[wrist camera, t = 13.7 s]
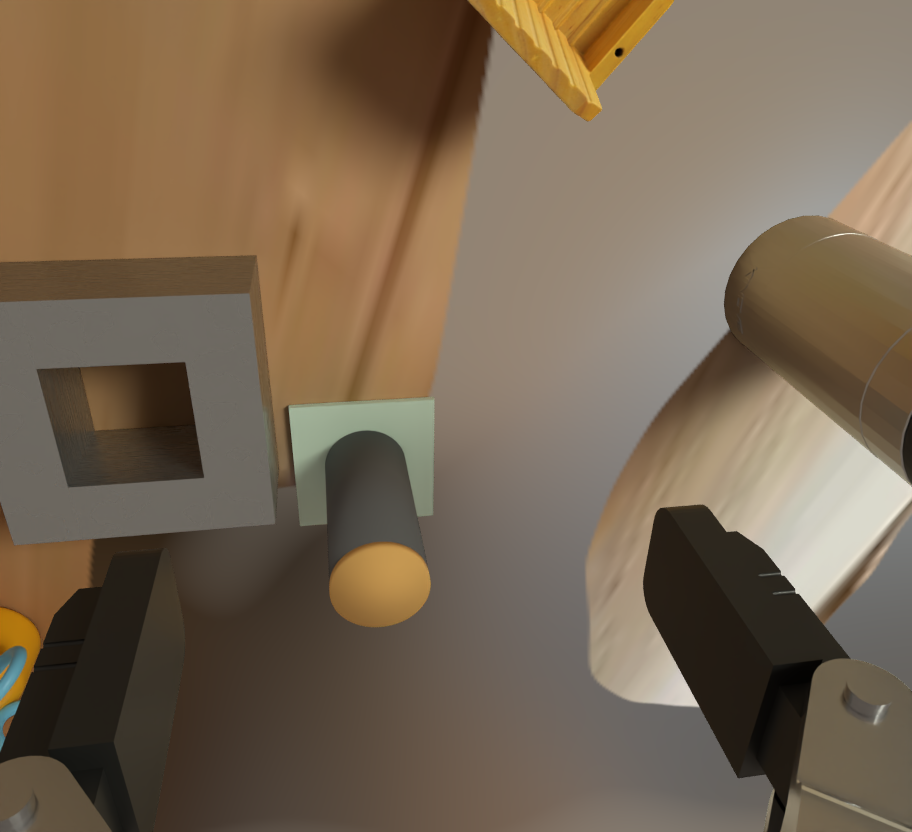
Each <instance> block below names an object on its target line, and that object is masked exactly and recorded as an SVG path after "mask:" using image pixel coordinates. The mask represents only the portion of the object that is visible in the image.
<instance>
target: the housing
mask: <svg viewBox="0 0 912 832" xmlns="http://www.w3.org/2000/svg"><path fill="white" fill-rule="evenodd" d="M175 362H185V363H186V369H187V375H188V381H189V388H190V394H191V400H192V406H193V412H194V418H195V424H196V425H187V426H170V427H153V428H137V429H120V430H104V431H94V426H93V422H92V418H91V414H90V410H89V405H88V401H87V397H86V393H85V389H84V384H83V380H82V376H81V372H80V368H79V367H91V366H112V365H133V364H154V363H175ZM278 472H279V465H278V456H277V446H276V437H275V427H274V418H273V408H272V399H271V389H270V380H269V370H268V361H267V351H266V342H265V333H264V323H263V314H262V304H261V295H260V285H259V276H258V266H257V257H256V255H255V256H219V257H184V258H148V259H112V260H76V261H40V262H4V263H0V503H1V506H2V509H3V512H4V515H5V518H6V521H7V524H8V527H9V531H10V534H11V537H12V540H13V543H14V545H24V544H36V543H48V542H61V541H73V540H86V539H98V538H110V537H122V536H135V535H147V534H160V533H172V532H184V531H196V530H209V529H222V528H234V527H245V526H259V525H272V524H276V507H277V489H278Z"/></svg>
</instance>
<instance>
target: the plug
mask: <svg viewBox="0 0 912 832" xmlns="http://www.w3.org/2000/svg"><path fill="white" fill-rule="evenodd" d="M325 479H326V507H327V533H328V560H329V561H328V562H329V586H330V587H329V588H330V599H331V602H332V605H333V606H334V608H335V610H336V611H337V612H338V613H339V614H340V615H341V616H342V617H344V618H345V619H346V620H348V621H350V622H352V623H354V624H357V625H361V626H366V627H385V626H390V625H394V624H397V623H400V622H402V621H404V620H406V619H408V618H409V617H411V616H413V615H414V614H415V613H416V612H417V611H419V609H420V608H421V607H422V606H423V605H424V603H425V602H426V600H427V598H428V595H429V592H430V586H431V582H430V576H429V571H428V566H427V561H426V556H425V551H424V546H423V542H422V537H421V532H420V527H419V523H418V518H417V513H416V508H415V503H414V498H413V493H412V489H411V484H410V479H409V474H408V469H407V464H406V460H405V455H404V452H403V450H402V448H401V447H400V445H399V444H398V443H397V442H396V441H395V440H394V439H393V438H391V437H390V436H388V435H386V434H384V433H381V432H377V431H370V430H364V431H357V432H353V433H350V434H348V435H346V436H344V437H342V438H341V439H339V440H338V441H337V442H336V443H335V444H334V445H333V446H332V447H331V449H330V450H329V452H328V454H327V457H326V461H325Z"/></svg>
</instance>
